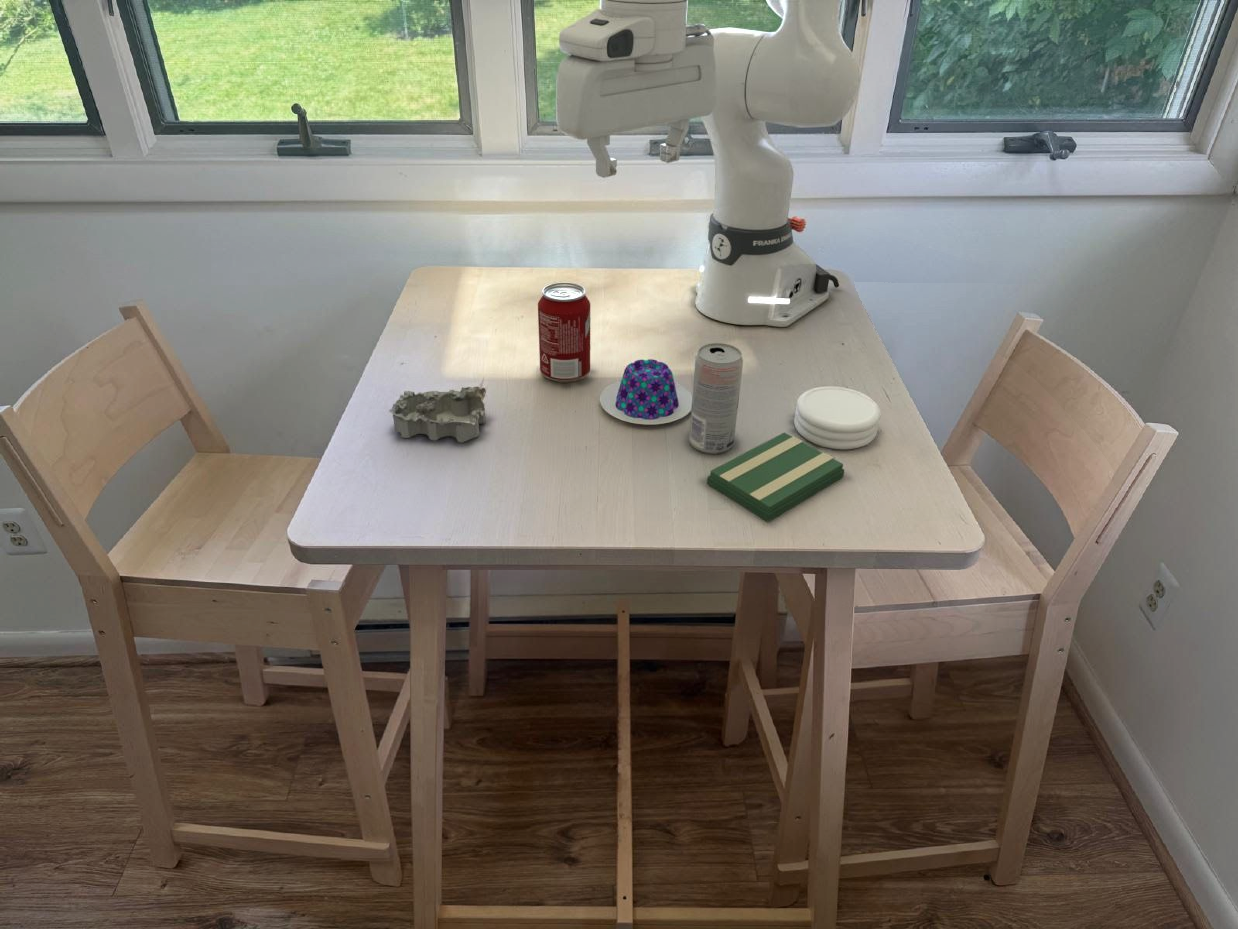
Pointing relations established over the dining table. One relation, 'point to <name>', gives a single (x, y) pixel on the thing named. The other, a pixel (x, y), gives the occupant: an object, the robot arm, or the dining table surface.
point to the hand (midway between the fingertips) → (638, 168)
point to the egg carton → (440, 413)
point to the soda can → (564, 332)
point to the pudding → (646, 395)
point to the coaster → (837, 417)
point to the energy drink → (715, 397)
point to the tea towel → (775, 476)
